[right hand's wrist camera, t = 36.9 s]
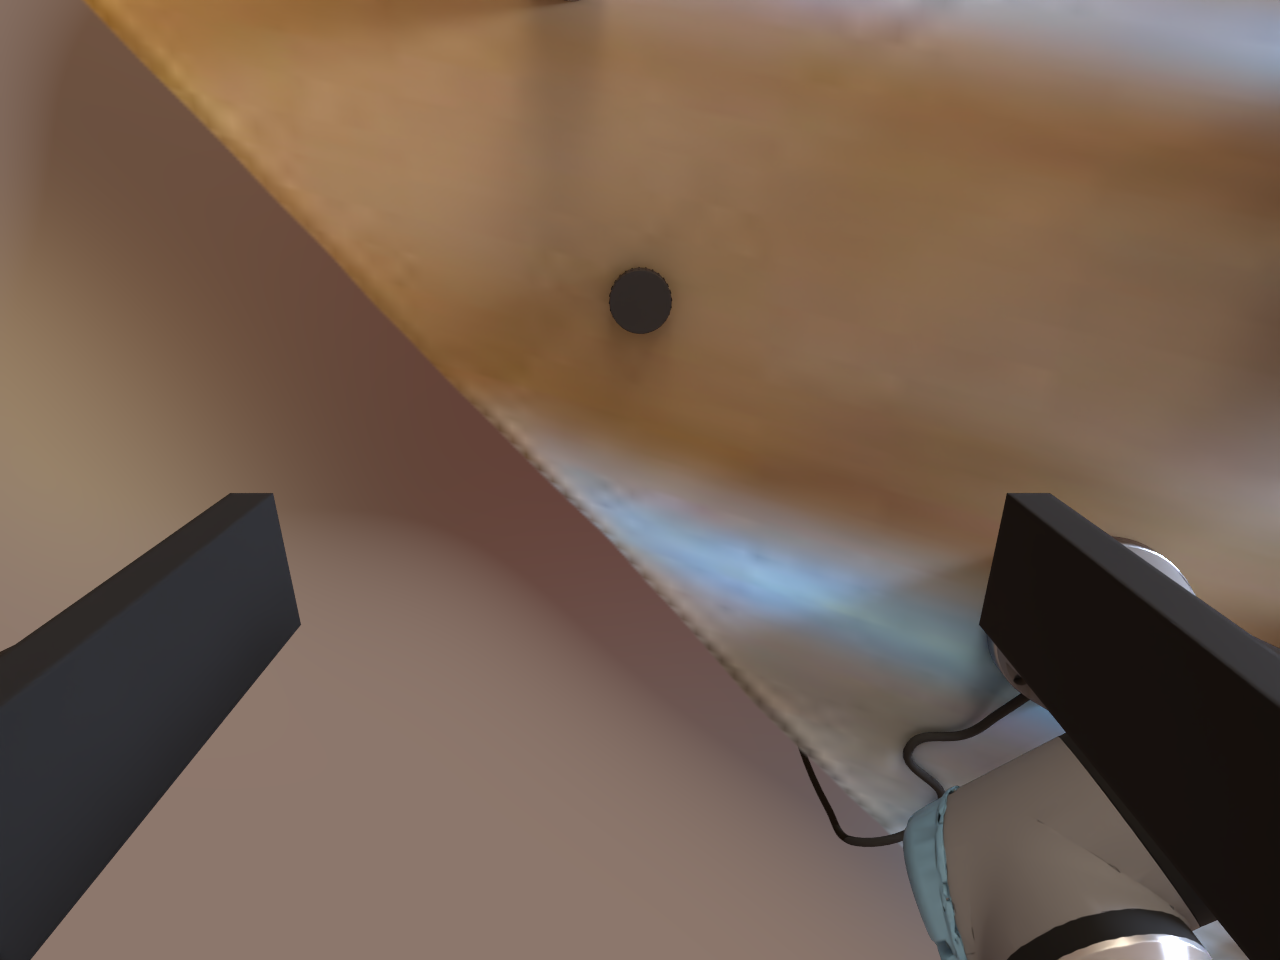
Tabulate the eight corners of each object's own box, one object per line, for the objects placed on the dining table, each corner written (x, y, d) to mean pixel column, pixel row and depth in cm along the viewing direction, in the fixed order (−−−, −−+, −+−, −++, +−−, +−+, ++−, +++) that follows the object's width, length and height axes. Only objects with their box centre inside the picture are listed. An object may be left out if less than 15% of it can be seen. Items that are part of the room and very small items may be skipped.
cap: (608, 327, 48) (607, 332, 46) (611, 264, 47) (610, 267, 45) (668, 331, 48) (669, 336, 47) (673, 269, 47) (674, 271, 45)
